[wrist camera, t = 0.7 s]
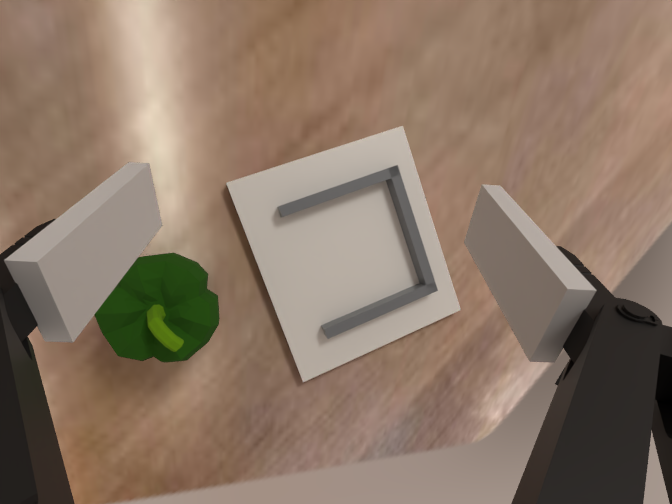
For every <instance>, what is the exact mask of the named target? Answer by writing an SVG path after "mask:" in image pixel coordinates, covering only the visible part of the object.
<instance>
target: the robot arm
mask: <svg viewBox="0 0 672 504" xmlns="http://www.w3.org/2000/svg"><path fill="white" fill-rule="evenodd" d="M161 226H162V221H161V217H160V212H159V207H158V202H157V198H156V193H155V188H154V184H153V179H152V174H151V169H150V165H149V163H136V162H128V163H127V164H126V165H125V166H123V167H122V168H121V169H119V170H118V171H117V172H116V173H114V174H113V175H112V176H111V177H109V178H108V179H107V180H105V181H104V182H103V183H102V184H100V185H99V186H98V187H97V188H95V189H94V190H93V191H91V192H90V193H89V194H88V195H86V196H85V197H84V198H83V199H81V200H80V201H79V202H77V203H76V204H75V205H74V206H72V207H71V208H70V209H69V210H67V211H66V212H65V213H63V214H62V215H61V216H60V217H58V218H57V219H53V220H50V221H48V222H46V223H44V224H41V225H39V226H37V227H36V228H34V229H33V230H32V231H30V232H29V233H28V234H26V235H25V238H21V239H20V240H18V241H17V242H16V243H15V245H12V246H10V247H9V248H8V249H7V250H5V251H4V252H3V253H1V254H0V504H74V500H73V496H72V493H71V489H70V485H69V481H68V478H67V474H66V470H65V466H64V463H63V459H62V455H61V451H60V448H59V444H58V440H57V436H56V433H55V429H54V425H53V421H52V418H51V414H50V410H49V406H48V403H47V399H46V395H45V391H44V388H43V384H42V380H41V376H40V373H39V369H38V365H37V361H36V358H35V354H34V350H33V346H32V344H31V342H30V340H29V338H28V337H27V336H28V335H29V334H30V333H31V332H32V331H33V330H34V329H35V327H36V326H37V327H38V329H39V331H40V333H41V334H42V336H43V338H44V340H45V341H51V342H74V341H75V339H76V338H77V337H78V335H79V334H80V333H81V332H82V330H83V329H84V328H85V326H86V325H87V324H88V322H89V321H90V320H91V318H92V317H93V316H94V314H95V313H96V312H97V311H98V309H99V308H100V307H101V305H102V304H103V303H104V301H105V300H106V299H107V297H108V296H109V295H110V293H111V292H112V291H113V290H114V288H115V287H116V286H117V284H118V283H119V282H120V280H121V279H122V278H123V276H124V275H125V274H126V272H127V271H128V270H129V269H130V267H131V266H132V265H133V263H134V262H135V261H136V259H137V258H138V257H139V255H140V254H141V253H142V251H143V250H144V249H145V248H146V246H147V245H148V244H149V242H150V241H151V240H152V238H153V237H154V236H155V234H156V233H157V232H158V230H159V229H160V228H161ZM464 243H465V245H466V247H467V249H468V250H469V252H470V254H471V256H472V258H473V260H474V261H475V263H476V265H477V267H478V269H479V270H480V272H481V274H482V276H483V278H484V280H485V281H486V283H487V285H488V287H489V289H490V290H491V292H492V294H493V296H494V298H495V299H496V301H497V303H498V305H499V307H500V309H501V310H502V312H503V314H504V316H505V318H506V319H507V321H508V323H509V325H510V327H511V329H512V330H513V332H514V334H515V336H516V338H517V339H518V341H519V343H520V345H521V347H522V349H523V350H524V352H525V354H526V356H527V358H528V359H529V361H532V362H555V361H556V359H557V358H558V356H559V354H560V352H561V351H562V349H563V348H564V349H565V351H566V352H567V354H568V355H569V357H570V360H569V362H568V363H567V365H566V367H565V368H564V370H563V371H562V373H561V375H560V376H559V378H558V380H557V381H556V383H555V384H556V385H558V387H557V389H556V392H555V394H554V397H553V400H552V402H551V404H550V407H549V410H548V412H547V415H546V417H545V420H544V422H543V425H542V428H541V430H540V433H539V435H538V438H537V440H536V443H535V445H534V448H533V450H532V453H531V456H530V458H529V460H528V463H527V466H526V468H525V471H524V473H523V476H522V478H521V481H520V483H519V486H518V489H517V491H516V494H515V496H514V499H513V501H512V504H643V499H644V491H645V482H646V473H647V464H648V456H649V447H650V438H651V429H652V433H653V437H654V441H655V445H656V449H657V453H658V457H659V462H660V465H661V469H662V474H663V478H664V481H665V486H666V490H667V493H668V498H669V502H670V504H672V327H669V326H665V325H662V321H661V320H660V319H659V318H658V317H657V315H655V314H654V313H653V312H652V311H650V310H649V309H648V308H646V307H644V306H642V305H640V304H638V303H636V302H633V301H630V300H626V299H620V298H615V297H614V296H613V295H612V294H611V293H610V292H609V291H608V290H607V288H606V287H605V286H604V285H603V284H602V283H601V282H600V281H599V280H598V279H597V278H596V277H595V276H594V275H591V272H590V271H589V270H588V269H587V268H586V267H584V265H583V263H582V262H581V261H580V260H579V259H578V258H577V257H576V256H575V255H573V254H572V253H570V252H569V251H567V250H565V249H564V248H562V247H561V246H555V245H554V244H553V242H552V241H551V240H550V239H549V238H548V237H547V236H546V235H545V234H544V233H543V232H542V230H541V229H540V228H539V227H538V226H537V225H536V224H535V223H534V222H533V221H532V220H531V219H530V217H529V216H528V215H527V214H526V213H525V212H524V211H523V210H522V209H521V208H520V207H519V205H518V204H517V203H516V202H515V201H514V200H513V199H512V198H511V197H510V196H509V195H508V194H507V192H506V191H505V190H504V189H503V188H502V187H501V186H498V185H481V188H480V192H479V195H478V198H477V201H476V205H475V208H474V211H473V215H472V218H471V221H470V224H469V228H468V231H467V234H466V238H465V241H464Z"/></svg>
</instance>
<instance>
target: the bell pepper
mask: <svg viewBox="0 0 672 504" xmlns="http://www.w3.org/2000/svg"><path fill="white" fill-rule="evenodd" d="M207 281H208V274H207V272H206V271H205V270H204V269H203V268H202V267H201V266H200V265H199V264H198V263H197V262H195V261H193V260H190V259H188V258H185V257H183V256H181V255H178V254H176V253H168V254H159V255H151V256H144V257H138V258H137V259H136V261H135V262H134V263H133V265H132V266H131V267H130V269H129V270H128V271H127V272H126V274H125V275H124V276H123V278H122V279H121V280H120V282H119V283H118V284H117V286H116V287H115V288H114V290H113V291H112V292H111V293H110V295H109V296H108V297H107V299H106V300H105V301H104V303H103V304H102V305H101V307H100V308H99V309H98V311H97V312H96V313H95V314H94V315H95V317H96V319H97V322H98V324H99V327H100V329H101V331H102V333H103V335H104V336H105V338H106V339H107V341H108V342H109V344H110V345H111V346H112V348H113V349H114V351H115V352H116V354H117V355H118V356H120V357H125V358H130V359H135V360H140V361H144V360H146V359H149V358H151V357H155V358H157V359H158V360H160V361H161V362H175V361H186V360H188V359H189V358H190V357H191V356H192V355H194V354H195V353H196V352H197V351H198V350H199V349H201V348H202V347H203V346H204V345H205V344H206V343H208V342H209V340H210V338H211V336H212V335H213V333H214V331H215V330H216V328H217V326H218V324H219V306H218V296H217V295H216V294H214V293H213V292H211V291H210V290H208V289H207Z"/></svg>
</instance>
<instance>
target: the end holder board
mask: <svg viewBox="0 0 672 504" xmlns="http://www.w3.org/2000/svg"><path fill="white" fill-rule="evenodd" d="M226 184H227V187H228V189H229V192H230V195H231V197H232V200H233V202H234V205H235V208H236V210H237V213H238V215H239V218H240V221H241V223H242V226H243V228H244V231H245V233H246V236H247V239H248V241H249V244H250V246H251V249H252V252H253V254H254V257H255V259H256V262H257V264H258V267H259V270H260V272H261V275H262V277H263V280H264V283H265V285H266V288H267V290H268V293H269V296H270V298H271V301H272V303H273V306H274V308H275V311H276V314H277V316H278V319H279V321H280V324H281V327H282V329H283V332H284V334H285V337H286V339H287V342H288V345H289V347H290V350H291V352H292V355H293V358H294V360H295V363H296V365H297V368H298V371H299V373H300V376H301V378H302V381H303V382H305V381H307V380H309V379H312V378H314V377H316V376H318V375H320V374H323V373H325V372H327V371H329V370H331V369H333V368H336V367H338V366H340V365H342V364H344V363H346V362H349V361H351V360H353V359H355V358H357V357H359V356H362V355H364V354H366V353H368V352H370V351H373V350H375V349H377V348H379V347H381V346H383V345H386V344H388V343H390V342H392V341H394V340H396V339H399V338H401V337H403V336H405V335H407V334H410V333H412V332H414V331H416V330H418V329H420V328H423V327H425V326H427V325H429V324H431V323H433V322H436V321H438V320H440V319H442V318H444V317H446V316H449V315H451V314H453V313H455V312H457V311H460V310H461V309H460V306H459V303H458V300H457V297H456V294H455V290H454V287H453V284H452V281H451V278H450V274H449V271H448V268H447V265H446V262H445V259H444V255H443V252H442V249H441V246H440V243H439V240H438V236H437V233H436V230H435V227H434V224H433V221H432V217H431V214H430V211H429V208H428V205H427V202H426V198H425V195H424V192H423V189H422V186H421V182H420V179H419V176H418V173H417V170H416V167H415V163H414V160H413V157H412V154H411V151H410V148H409V144H408V141H407V138H406V135H405V132H404V129H403V126H400V127H397V128H394V129H391V130H388V131H385V132H382V133H379V134H376V135H373V136H370V137H366V138H363V139H360V140H357V141H354V142H351V143H348V144H345V145H342V146H339V147H336V148H332V149H329V150H326V151H323V152H320V153H317V154H314V155H311V156H308V157H305V158H302V159H298V160H295V161H292V162H289V163H286V164H283V165H280V166H277V167H274V168H271V169H268V170H264V171H261V172H258V173H255V174H252V175H249V176H246V177H243V178H240V179H237V180H234V181H230V182H227V183H226Z"/></svg>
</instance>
